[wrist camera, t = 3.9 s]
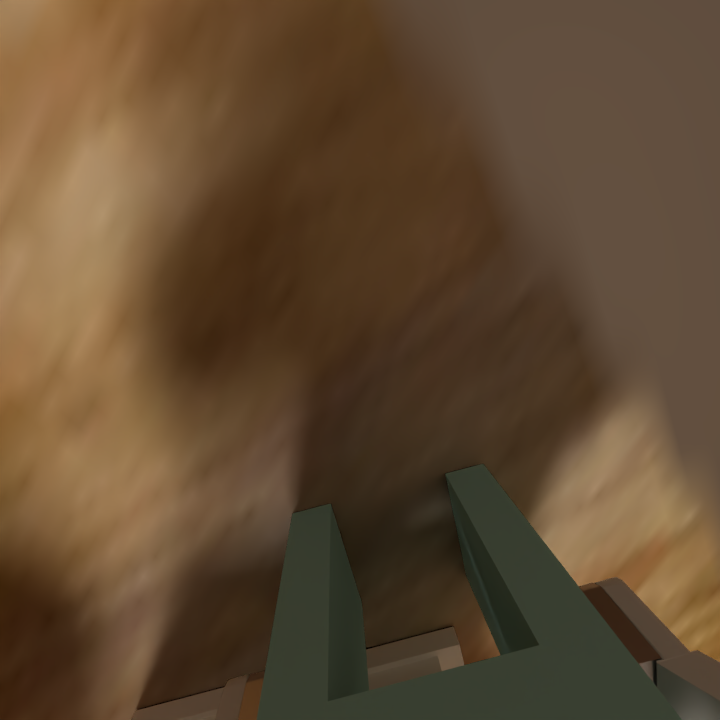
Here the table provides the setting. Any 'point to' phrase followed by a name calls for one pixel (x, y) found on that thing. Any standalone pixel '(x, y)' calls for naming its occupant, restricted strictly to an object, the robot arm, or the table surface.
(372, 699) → the green slotted block
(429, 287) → the table surface
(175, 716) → the shelf
